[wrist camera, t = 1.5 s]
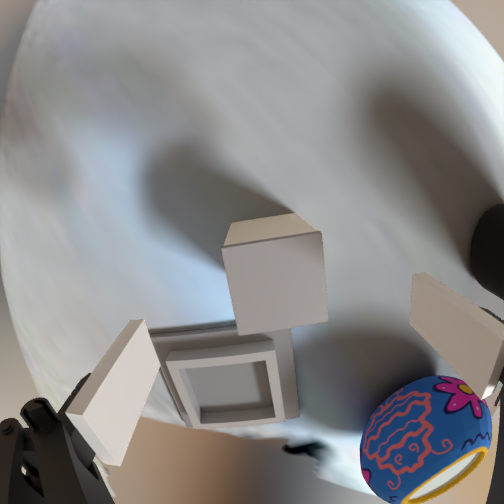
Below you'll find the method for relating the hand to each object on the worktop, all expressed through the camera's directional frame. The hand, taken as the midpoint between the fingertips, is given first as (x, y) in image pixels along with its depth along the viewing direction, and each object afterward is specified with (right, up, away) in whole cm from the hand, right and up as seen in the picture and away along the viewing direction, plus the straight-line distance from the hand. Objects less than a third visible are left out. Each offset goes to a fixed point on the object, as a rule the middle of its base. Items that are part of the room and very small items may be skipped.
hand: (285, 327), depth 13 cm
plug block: (0, +4, +12) cm, 13 cm away
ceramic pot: (+20, -18, +19) cm, 32 cm away
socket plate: (-4, -11, +16) cm, 20 cm away
